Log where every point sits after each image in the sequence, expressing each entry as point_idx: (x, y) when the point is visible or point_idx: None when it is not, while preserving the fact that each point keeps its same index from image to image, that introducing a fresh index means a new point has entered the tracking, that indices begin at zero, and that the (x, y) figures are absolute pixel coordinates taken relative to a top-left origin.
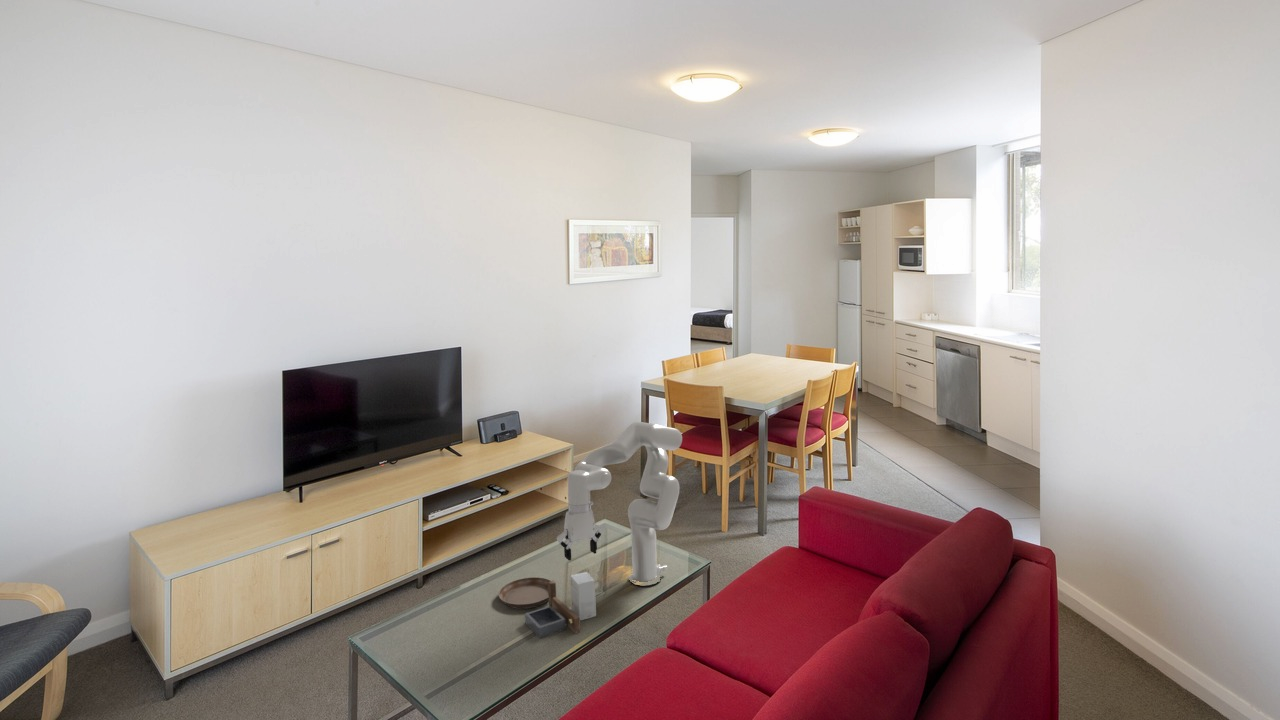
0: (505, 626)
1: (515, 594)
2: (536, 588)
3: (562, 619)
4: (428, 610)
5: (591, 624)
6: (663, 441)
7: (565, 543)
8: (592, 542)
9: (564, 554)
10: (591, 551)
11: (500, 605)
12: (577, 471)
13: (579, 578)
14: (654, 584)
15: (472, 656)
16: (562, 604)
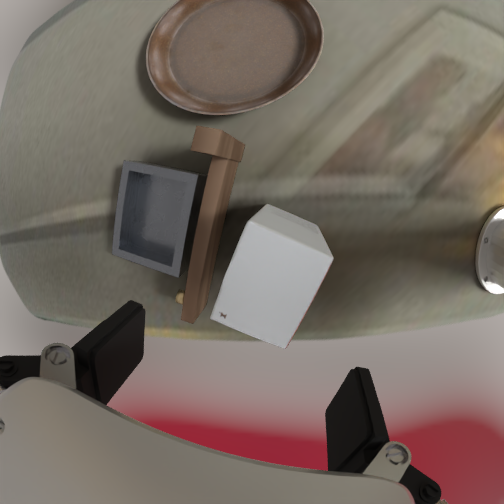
0: (107, 139)
1: (219, 15)
2: (283, 23)
3: (172, 271)
4: (83, 3)
5: None
6: None
7: (53, 380)
8: (341, 460)
9: (100, 323)
10: (344, 381)
11: None
12: None
13: (252, 286)
14: None
15: (38, 198)
16: (205, 226)
